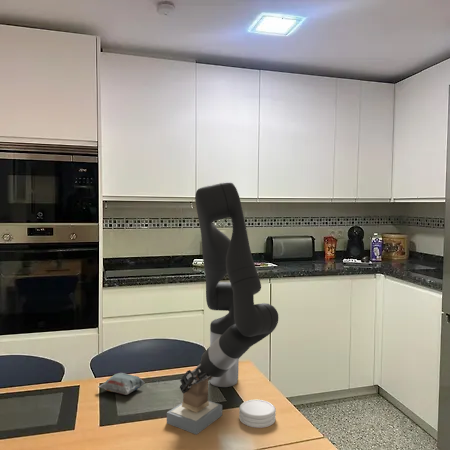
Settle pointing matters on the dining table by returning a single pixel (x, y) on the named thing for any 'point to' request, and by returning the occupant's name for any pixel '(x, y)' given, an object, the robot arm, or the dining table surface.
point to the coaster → (257, 413)
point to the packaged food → (122, 383)
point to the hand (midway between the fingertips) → (191, 386)
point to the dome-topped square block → (196, 396)
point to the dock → (194, 417)
